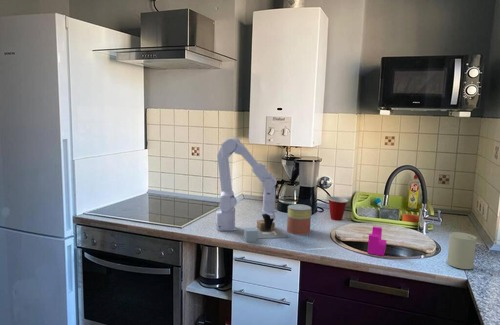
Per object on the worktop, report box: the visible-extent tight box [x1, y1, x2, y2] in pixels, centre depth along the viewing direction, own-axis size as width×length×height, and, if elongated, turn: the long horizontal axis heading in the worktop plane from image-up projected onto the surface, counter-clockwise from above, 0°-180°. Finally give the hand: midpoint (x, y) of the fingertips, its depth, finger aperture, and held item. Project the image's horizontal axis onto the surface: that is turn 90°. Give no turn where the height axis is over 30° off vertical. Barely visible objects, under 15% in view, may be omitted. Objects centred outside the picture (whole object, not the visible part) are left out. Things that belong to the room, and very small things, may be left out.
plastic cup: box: [327, 196, 349, 222], centre depth 203 cm, size 11×11×12 cm
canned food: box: [286, 203, 312, 236], centre depth 181 cm, size 11×11×12 cm
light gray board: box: [256, 227, 289, 240], centre depth 178 cm, size 14×14×1 cm
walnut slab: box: [256, 219, 276, 231], centre depth 184 cm, size 7×7×4 cm
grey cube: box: [243, 227, 258, 243], centre depth 167 cm, size 5×5×5 cm
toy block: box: [367, 226, 387, 257], centre depth 161 cm, size 15×6×8 cm, turn 155°
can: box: [446, 231, 478, 270], centre depth 145 cm, size 9×9×12 cm
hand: (268, 229), depth 180 cm, fingers closed
